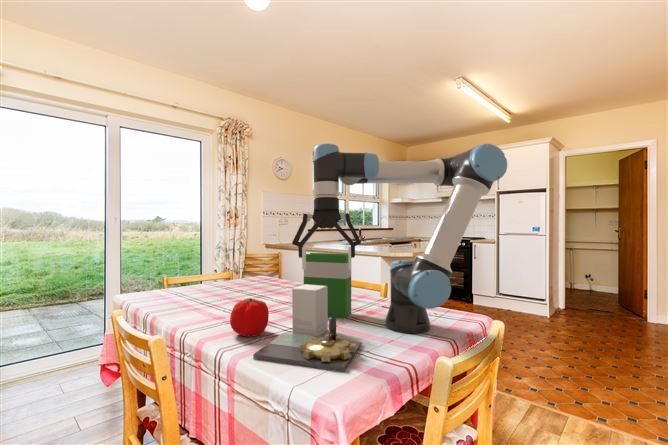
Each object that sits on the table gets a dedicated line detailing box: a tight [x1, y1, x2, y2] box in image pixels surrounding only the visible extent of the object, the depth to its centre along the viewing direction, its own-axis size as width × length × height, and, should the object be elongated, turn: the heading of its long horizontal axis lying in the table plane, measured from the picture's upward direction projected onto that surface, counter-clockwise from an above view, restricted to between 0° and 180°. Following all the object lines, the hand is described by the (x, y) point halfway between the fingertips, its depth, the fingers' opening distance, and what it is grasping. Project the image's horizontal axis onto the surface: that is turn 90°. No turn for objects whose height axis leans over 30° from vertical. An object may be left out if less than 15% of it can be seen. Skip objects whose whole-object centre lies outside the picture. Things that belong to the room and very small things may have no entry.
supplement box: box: [291, 284, 329, 337], centre depth 107 cm, size 9×9×15 cm
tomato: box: [229, 298, 270, 338], centre depth 105 cm, size 12×13×12 cm
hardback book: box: [303, 252, 352, 319], centre depth 129 cm, size 18×7×24 cm, turn 71°
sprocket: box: [300, 317, 356, 362], centre depth 87 cm, size 15×15×8 cm
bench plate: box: [253, 332, 363, 373], centre depth 90 cm, size 25×18×1 cm
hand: (326, 269), depth 96 cm, fingers open, 13 cm apart
